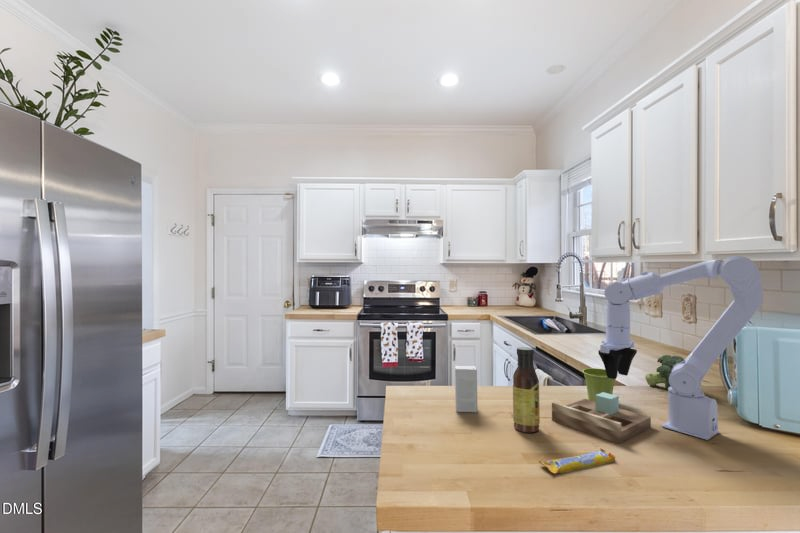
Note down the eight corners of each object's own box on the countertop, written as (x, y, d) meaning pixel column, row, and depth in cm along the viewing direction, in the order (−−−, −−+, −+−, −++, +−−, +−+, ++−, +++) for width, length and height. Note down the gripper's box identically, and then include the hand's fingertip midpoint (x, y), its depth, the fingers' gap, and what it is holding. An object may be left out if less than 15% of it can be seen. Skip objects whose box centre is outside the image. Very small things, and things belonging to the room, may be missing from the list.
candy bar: (602, 454, 83) (602, 446, 83) (618, 464, 79) (618, 455, 79) (537, 468, 77) (537, 458, 77) (552, 478, 73) (551, 469, 73)
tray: (650, 427, 96) (650, 409, 96) (619, 443, 87) (619, 423, 87) (585, 407, 110) (585, 391, 110) (551, 420, 101) (551, 402, 101)
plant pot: (624, 406, 111) (624, 376, 111) (591, 406, 111) (591, 376, 111) (607, 396, 120) (607, 368, 120) (577, 395, 120) (576, 368, 121)
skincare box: (476, 407, 111) (476, 365, 111) (477, 412, 106) (477, 369, 106) (454, 406, 111) (454, 365, 111) (455, 412, 107) (455, 369, 107)
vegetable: (660, 374, 137) (704, 363, 125) (661, 407, 129) (709, 399, 117) (635, 356, 135) (678, 343, 123) (635, 387, 127) (681, 377, 115)
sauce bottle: (541, 435, 92) (540, 351, 92) (514, 432, 93) (513, 350, 93) (537, 424, 98) (536, 346, 98) (512, 422, 100) (511, 345, 100)
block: (618, 411, 100) (618, 396, 100) (610, 414, 98) (610, 399, 98) (603, 407, 103) (603, 392, 103) (595, 410, 101) (595, 394, 101)
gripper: (616, 322, 112) (615, 369, 112) (589, 326, 104) (588, 376, 104) (642, 325, 106) (641, 374, 106) (616, 330, 98) (615, 383, 98)
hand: (617, 376), depth 105 cm, fingers open, 6 cm apart
